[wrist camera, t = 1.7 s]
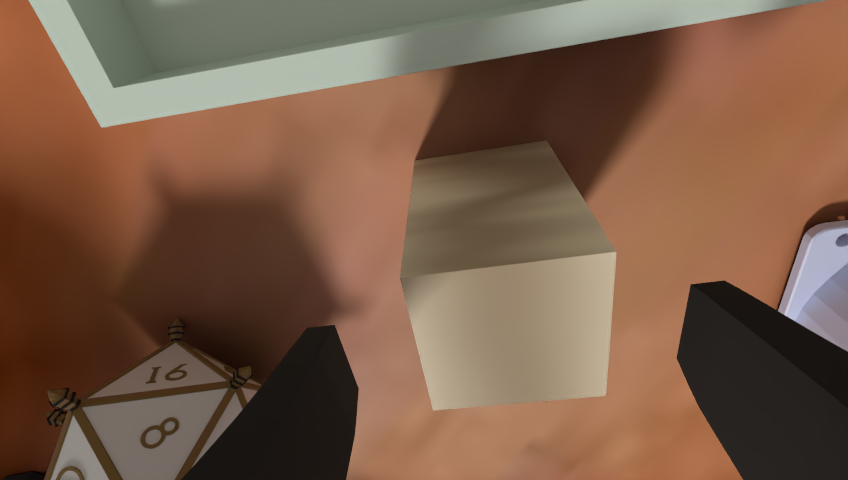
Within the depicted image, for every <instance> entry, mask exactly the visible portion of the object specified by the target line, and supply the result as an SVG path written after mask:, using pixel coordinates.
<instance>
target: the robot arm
mask: <svg viewBox="0 0 848 480" xmlns="http://www.w3.org/2000/svg"><path fill="white" fill-rule="evenodd" d="M842 234H843V235H842ZM841 235H842V236H841ZM839 236H841V237H839ZM838 237H839V238H838ZM837 238H838V239H837ZM677 360H678V362H679V364H680V367H681V369H682V371H683V373H684V376H685V378H686V380H687V383H688V385H689V387H690V389H691V391H692V393H693V395H694V397H695V400H696V402H697V404H698V406H699V408H700V409H701V411H702V413H703V414H704V416H705V418H706V419H707V421H708V423H709V424H710V426H711V428H712V429H713V431H714V433H715V434H716V436H717V438H718V439H719V441H720V442H721V444H722V446H723V447H724V449H725V451H726V452H727V454H728V455H729V457H730V459H731V460H732V462H733V464H734V465H735V467H736V468H737V470H738V472H739V473H740V475H741V477H742V478H743V480H848V220H843V221H835V222H827V223H822V224H818V225H816V226H814V227H812V228H810V229H809V230H808V231H807V232H806V233H805V235H804V237H803V239H802V242H801V245H800V248H799V251H798V253H797V256H796V259H795V262H794V265H793V268H792V271H791V274H790V277H789V280H788V283H787V286H786V289H785V292H784V295H783V298H782V301H781V304H780V307H779V310H778V311H777V310H775V309H773V308H772V307H770V306H768V305H767V304H765V303H763V302H761V301H760V300H758V299H756V298H755V297H753V296H751V295H749V294H748V293H746V292H744V291H742V290H741V289H739V288H737V287H735V286H733V285H731V284H730V283H728V282H726V281H717V282H708V283H699V284H691V287H690V292H689V297H688V302H687V307H686V313H685V318H684V323H683V328H682V333H681V338H680V344H679V349H678V354H677ZM357 402H358V386H357V383H356V381H355V378H354V375H353V373H352V370H351V367H350V365H349V362H348V359H347V357H346V354H345V352H344V349H343V346H342V344H341V341H340V338H339V336H338V333H337V330H336V328H335V325H330V326H321V327H313V328H307V329H306V330H305V332H304V333H303V334H302V335H301V336H300V338H299V339H298V340H297V342H296V343H295V344H294V345H293V347H292V348H291V349H290V350H289V352H288V353H287V354H286V355H285V357H284V358H283V359H282V361H281V362H280V363H279V364H278V366H277V367H276V368H275V370H274V371H273V372H272V373H271V375H270V376H269V377H268V379H267V380H266V381H265V382H264V384H263V385H262V386H261V387H260V389H259V390H258V391H257V392H256V393H255V395H254V396H253V397H252V398H251V400H250V401H249V402H248V403H247V405H246V406H245V407H244V408H243V410H242V411H241V412H240V413H239V414H238V416H237V417H236V418H235V419H234V420H233V422H232V423H231V424H230V425H229V426H228V427H227V428H226V430H225V431H224V432H223V433H222V434H221V435H220V436H219V438H218V439H217V440H216V441H215V442H214V443H213V444H212V446H211V447H210V448H209V449H208V450H207V451H206V452H205V454H204V455H203V456H202V457H201V458H200V459H199V460H198V462H197V463H196V464H195V465H194V466H193V467H192V468H191V469H190V470H189V471H188V472H187V474H186V475H185V476H184V477H183V478H182V479H181V480H346V476H347V471H348V466H349V461H350V456H351V451H352V446H353V441H354V436H355V426H356V415H357Z"/></svg>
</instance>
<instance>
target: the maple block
mask: <svg viewBox="0 0 848 480" xmlns="http://www.w3.org/2000/svg"><path fill="white" fill-rule="evenodd" d="M615 265H616V250H615V249H614V247H613V245H612V244H611V242H610V241H609V239H608V237H607V236H606V234H605V233H604V231H603V229H602V228H601V226H600V225H599V223H598V221H597V220H596V218H595V217H594V215H593V213H592V212H591V210H590V209H589V207H588V205H587V204H586V202H585V201H584V199H583V197H582V196H581V194H580V193H579V191H578V189H577V188H576V186H575V185H574V183H573V181H572V180H571V178H570V177H569V175H568V173H567V172H566V170H565V169H564V167H563V166H562V164H561V162H560V161H559V159H558V158H557V156H556V154H555V153H554V151H553V150H552V148H551V146H550V145H549V143H548V142H547V140H546V141H539V142H533V143H526V144H520V145H513V146H506V147H500V148H493V149H487V150H480V151H474V152H467V153H461V154H454V155H447V156H441V157H434V158H428V159H421V160H415V161H414V170H413V178H412V186H411V194H410V202H409V210H408V218H407V226H406V234H405V242H404V250H403V258H402V266H401V274H400V280H401V284H402V288H403V292H404V296H405V300H406V304H407V308H408V312H409V316H410V320H411V324H412V328H413V332H414V336H415V340H416V344H417V348H418V352H419V356H420V360H421V364H422V368H423V372H424V376H425V380H426V384H427V388H428V392H429V396H430V400H431V404H432V408H433V410H445V409H457V408H468V407H480V406H492V405H504V404H515V403H527V402H539V401H550V400H562V399H574V398H585V397H597V396H606V388H607V374H608V360H609V347H610V333H611V319H612V306H613V292H614V278H615Z"/></svg>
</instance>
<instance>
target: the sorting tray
mask: <svg viewBox="0 0 848 480" xmlns="http://www.w3.org/2000/svg"><path fill="white" fill-rule="evenodd" d="M821 1H826V0H29V2H30V3H31V5H32V7H33V9H34V10H35V12H36V14H37V16H38V17H39V19H40V21H41V23H42V24H43V26H44V28H45V30H46V31H47V33H48V35H49V37H50V38H51V40H52V42H53V44H54V45H55V47H56V49H57V51H58V52H59V54H60V56H61V58H62V59H63V61H64V63H65V65H66V66H67V68H68V70H69V72H70V73H71V75H72V77H73V79H74V80H75V82H76V84H77V86H78V87H79V89H80V91H81V93H82V94H83V96H84V98H85V100H86V101H87V103H88V105H89V107H90V108H91V110H92V112H93V114H94V115H95V117H96V119H97V121H98V122H99V124H100V126H101V128H102V127H108V126H113V125H119V124H125V123H130V122H136V121H142V120H148V119H153V118H159V117H165V116H170V115H176V114H182V113H188V112H193V111H199V110H205V109H210V108H216V107H222V106H228V105H233V104H239V103H245V102H250V101H256V100H262V99H268V98H273V97H279V96H285V95H290V94H296V93H302V92H307V91H313V90H319V89H325V88H330V87H336V86H342V85H347V84H353V83H359V82H365V81H370V80H376V79H382V78H387V77H393V76H399V75H405V74H410V73H416V72H422V71H427V70H433V69H439V68H445V67H450V66H456V65H462V64H467V63H473V62H479V61H484V60H490V59H496V58H502V57H507V56H513V55H519V54H524V53H530V52H536V51H542V50H547V49H553V48H559V47H564V46H570V45H576V44H582V43H587V42H593V41H599V40H604V39H610V38H616V37H622V36H627V35H633V34H639V33H644V32H650V31H656V30H661V29H667V28H673V27H679V26H684V25H690V24H696V23H701V22H707V21H713V20H719V19H724V18H730V17H736V16H741V15H747V14H753V13H759V12H764V11H770V10H776V9H781V8H787V7H793V6H799V5H804V4H810V3H816V2H821Z"/></svg>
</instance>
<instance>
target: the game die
mask: <svg viewBox="0 0 848 480" xmlns="http://www.w3.org/2000/svg"><path fill="white" fill-rule="evenodd" d="M184 328H185V326H183V325H182V324H181V322H180V321H179V320H178V318H177V319H176V320H175V321H174V322H173V324H172V325H171V326H170V327H168V329H170V333H168V335H170V337H171V342H169V343H168V344H166V345H164V346H163V347H161V348H160V349H158V350H156V351H155V352H153V353H152V354H150V355H148V356H147V357H145V358H143V359H142V360H140V361H139V362H137V363H135V364H134V365H132V366H131V367H129V368H127V369H126V370H124V371H123V372H121V373H119V374H118V375H116V376H115V377H113V378H111V379H110V380H108V381H107V382H105V383H103V384H102V385H100V386H98V387H97V388H95V389H94V390H92V391H90V392H89V393H87V394H86V395H84V396H82V397H81V398H79V399H78V398H77V397H76V396H75V395H76V392H70V391H69V389H70V388H65V389H60V390H47V393H48V395H49V398H50V401H49V403H50V404H51V406H52V407H53V408H54V407H55V406H56V407H58V408H59V409H55V410H54V411H51V412H47V413H45V414H46V416H47V421H48V423H49V425H52V424H54V425H55V427H57V426H59V425H63V426H62V429H61V431H60V434H59V437H58V440H57V443H56V446H55V449H54V452H53V455H52V457H51V460H50V463H49V466H48V469H47V472H46V475H45V478H44V480H181V479H182V478H183V477H184V476H185V475H186V474H187V472H188V471H189V470H190V469H191V468H192V467H193V466H194V465H195V464H196V463H197V462H198V460H199V459H200V458H201V457H202V456H203V455H204V454H205V452H206V451H207V450H208V449H209V448H210V447H211V446H212V444H213V443H214V442H215V441H216V440H217V439H218V438H219V436H220V435H221V434H222V433H223V432H224V431H225V430H226V428H227V427H228V426H229V425H230V424H231V423H232V422H233V420H234V419H235V418H236V417H237V416H238V414H239V413H240V412H241V411H242V410H243V408H244V407H245V406H246V405H247V403H248V402H249V401H250V400H251V398H252V397H253V396H254V395H255V393H256V392H257V391H258V390H259V389H260V387H261V386H262V385H263V384H262V383H261V382H259V381H257V380H255V379H253V378H251V377H252V376H253V375H252V374H251V366H248V367H237V368H236V369H234V368H232V367H230V366H228V365H226V364H225V363H223V362H221V361H219V360H217V359H215V358H213V357H211V356H209V355H208V354H206V353H204V352H202V351H200V350H198V349H196V348H194V347H192V346H190V345H189V344H187V343H185V342H183V341H182V340H181V337H182V335H183V334H184V332H183V329H184ZM63 409H66V410H68V412H63Z"/></svg>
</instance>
